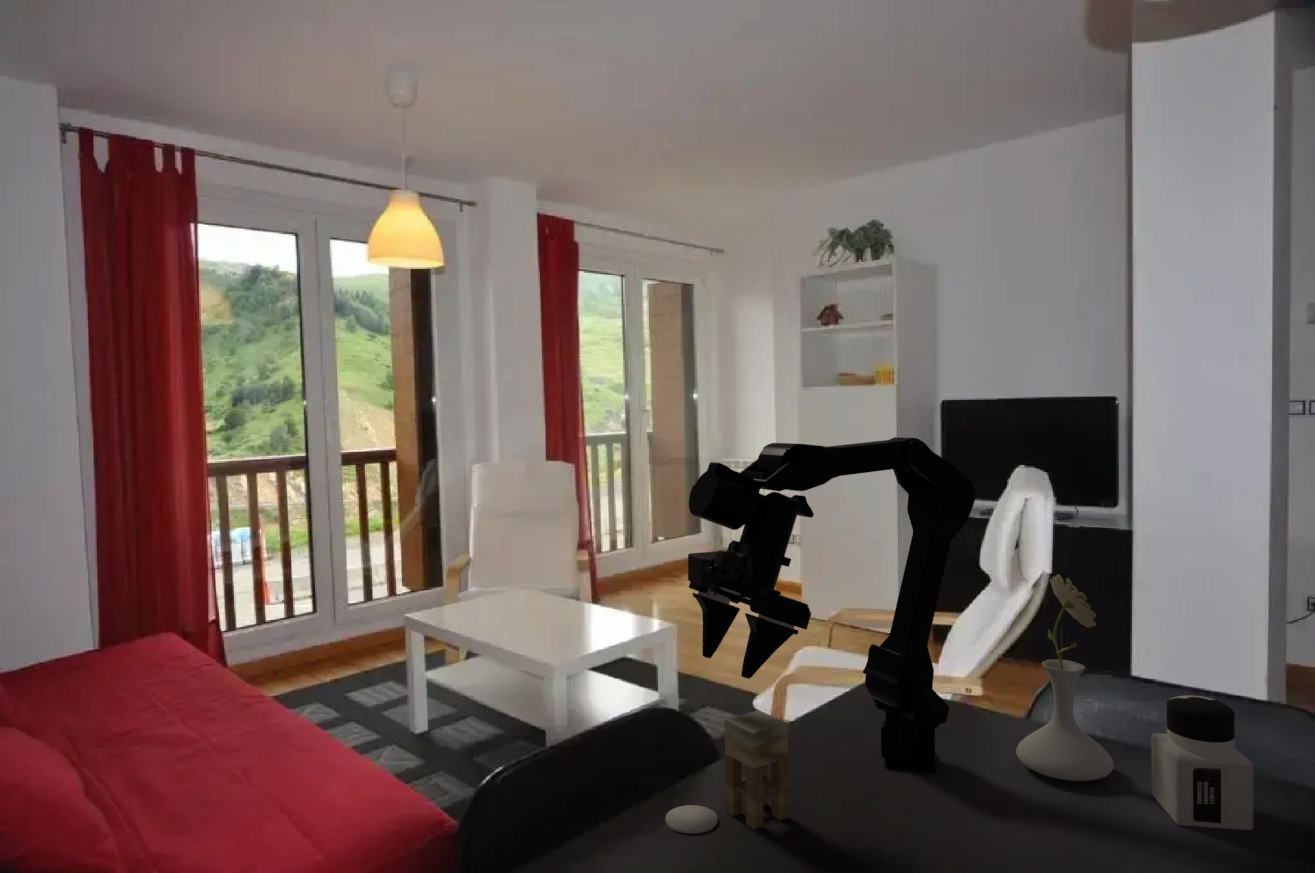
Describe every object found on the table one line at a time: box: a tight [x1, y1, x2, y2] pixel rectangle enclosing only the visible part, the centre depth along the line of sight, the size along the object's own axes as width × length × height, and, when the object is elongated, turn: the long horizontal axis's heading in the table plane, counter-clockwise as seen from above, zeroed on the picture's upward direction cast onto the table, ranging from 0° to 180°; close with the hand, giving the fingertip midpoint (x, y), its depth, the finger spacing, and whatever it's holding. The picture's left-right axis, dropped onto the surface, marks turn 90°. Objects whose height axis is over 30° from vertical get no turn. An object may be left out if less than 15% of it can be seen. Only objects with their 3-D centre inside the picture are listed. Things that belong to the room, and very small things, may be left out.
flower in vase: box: [1015, 573, 1115, 782], centre depth 108 cm, size 13×11×25 cm
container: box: [1150, 694, 1254, 831], centre depth 96 cm, size 8×8×13 cm
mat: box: [665, 804, 719, 835], centre depth 96 cm, size 6×6×1 cm
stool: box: [724, 710, 790, 831], centre depth 97 cm, size 5×5×11 cm
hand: (725, 666), depth 99 cm, fingers open, 9 cm apart
